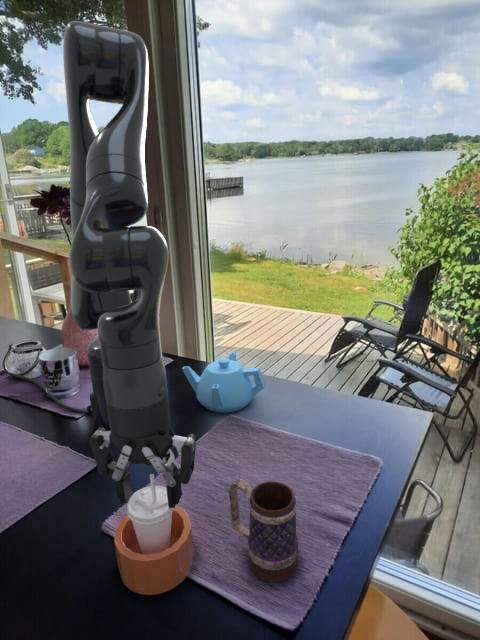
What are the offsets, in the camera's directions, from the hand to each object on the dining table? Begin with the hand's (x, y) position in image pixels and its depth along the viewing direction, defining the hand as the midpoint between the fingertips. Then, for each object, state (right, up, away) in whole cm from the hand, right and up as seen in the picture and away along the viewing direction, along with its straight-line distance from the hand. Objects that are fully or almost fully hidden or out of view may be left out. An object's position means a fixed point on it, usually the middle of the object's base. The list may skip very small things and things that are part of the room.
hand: (150, 500), depth 60 cm
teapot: (+9, +5, +47) cm, 48 cm away
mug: (+16, -10, +4) cm, 19 cm away
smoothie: (0, -9, +3) cm, 10 cm away
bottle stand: (0, -10, +3) cm, 11 cm away
